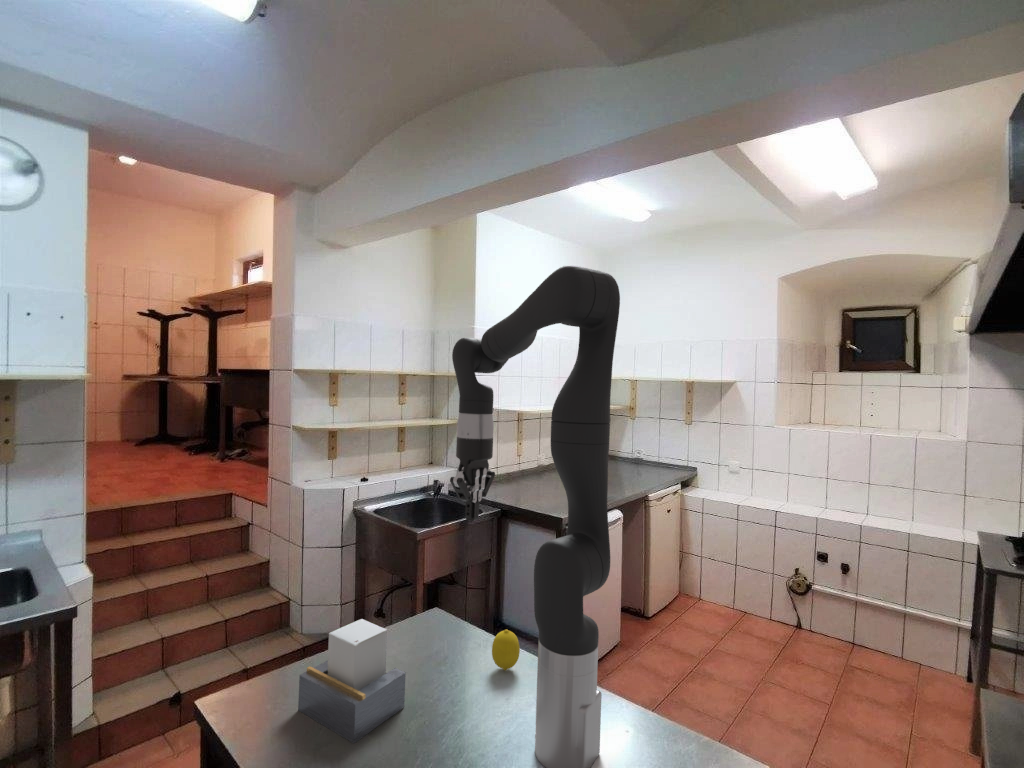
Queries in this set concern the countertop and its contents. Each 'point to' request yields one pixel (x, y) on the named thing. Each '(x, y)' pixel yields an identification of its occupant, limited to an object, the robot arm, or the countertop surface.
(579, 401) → the robot arm
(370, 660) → the supplement box
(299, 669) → the countertop surface
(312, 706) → the cradle
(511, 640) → the lemon
